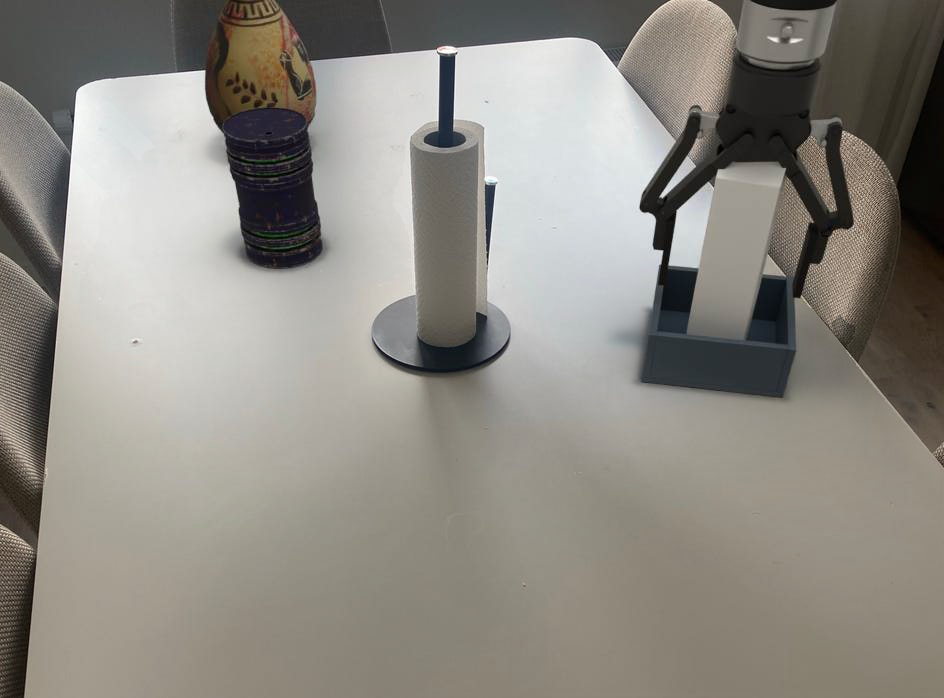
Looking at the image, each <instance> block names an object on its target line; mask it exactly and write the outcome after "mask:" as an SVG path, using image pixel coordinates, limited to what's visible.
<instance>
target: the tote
mask: <svg viewBox="0 0 944 698" xmlns="http://www.w3.org/2000/svg"><path fill="white" fill-rule="evenodd" d="M660 268H661V264H659V265H658V270H657V276H656V284H655V289H654V294H653V295H654V296H653V301H652V303H653V304H652V308H651V315H650V322H649V328H648V334H647V335H648V336H647V341H646V349H645V355H644V361H643V368H642V375H641V383H649V384H659V385H667V386H677V387H684V388H695V389H704V390H712V391H721V392H731V393H740V394H749V395H759V396H767V397H776V398H783V397H784V394H785V391H786V390H785V389H786V387H787V384H788V380H789V377H790V374H791V370H792V367H793V363H794V359H795V357H796V353H797V329H796V327H797V326H796V301H795V299H796V298H793V290H792V284H793V280H794V276H789V275H788V276H785V275H777V274H765V273H763V275H762V279H761V283H760V287H759V291H758V296H757V300H756V304H755V308H754V312H753V316H752V320H751V324H750V328H749V332H748V336H747V339H746V340H737V339H727V338H718V337H708V336H698V335H689V334H686V333H687V327H688V322H689V317H690V311H691V306H692V301H693V296H694V290H695V285H696V280H697V275H698V269H699V267H691V266H679V265H668V272H667V278H666V284H665V286H664V285H658V281H659V274H660Z"/></svg>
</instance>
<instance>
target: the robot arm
mask: <svg viewBox="0 0 944 698" xmlns="http://www.w3.org/2000/svg"><path fill="white" fill-rule="evenodd" d="M837 2H838V0H743V1H742V7H741V12H740V14H741V15H740V18H739V23H738V24H739V25H738V30H737V35H736V40H735V47H736V48H737V50H738V52H736V54H735V55H734V56H733V58H732V63H731V68H730V73H729V79H728V84H727V90H726V93H725V94H726V95H725V100H724V105H723V107H722V109H721V110H720V112H719V113H715V112H710V111H705V110H703V109H702V107H701V105H699V104H693V105H691V106H690V107H689V109H688V113H687V115H686V119H685V124H684V127H683V130H682V131H681V133H680V135H679V136H678V138H677V139H676V141H675V142H674V144H673V146H672V147H671V148H670V150H669V151H668V153H667V155H666V157H665V158H664V159H663V160H662V163H661V164H660V165H659V167H658V168H657V170H656V171H655V173H654V174H653V175H652V178H651V179H650V180H649V182H648V184H647V185H646V187H644V189H643V191H642V193H641V196H640V201H639V205H638V206H639V211H640V212H641V213H644V214H650V215H652V216H653V217H654V219H655V224H654V232H653V239H652V248H653V249H652V250H653V251H654V250H655V251H662V255H661V262H660V265H661V268H660V274H659V281H658V285H664V286H665V284H666V278H667V272H668V265H669V264H670V259H671V252H672V245H673V241H674V234H675V229H676V228H675V226H676V222H677V221H676V220H677V213H678V210H679V209H680V208H682V207H683V205H684V204H686V203H687V202H688V201H689V200H690V199H692V197H694V196H695V195H696V194H697V193H699V191H700V190H701V189H702V188H703V187H704V186H705V185H707V184H708V183H709V182H710V181H711V180H712V179H713V178H714V177H716V175H717V172H718V169H725V168H726V167H727V166H728V165H730V164H731V163H732V162H779V163H780V165H781V167H782V168H786V170H785V174H786V176H787V177H786V178H787V179H788V180H789V181H790V183H791V184H792V186H793V189H795V192H796V193H797V195H798V197H799V199H800V200H801V202H802V204H803V206H804V207H805V209H806V211H807V212H808V214H809V216H810V218H811V219H812V221H813V222H811V221H809V222H808V225H807V229H806V231H805V236H804V240H803V244H802V247H801V250H800V255H799V257H798V261H797V266H796V269H795V273H794V276H793V277H794V280H793V284H792V290H793V298H795V299H801V297H802V295H803V291H804V287H805V283H806V279H807V276H808V273H809V269H810V265H811V264H812V265H820V264H821V262H822V261H823V259H824V255H825V253H826V249H827V246H828V241H829V240H830V237H831V236H832V235H833V233H834V231H838V230H841V229H842V230H845V231H847V230H850V229H852V227H853V226H854V223H855V220H854V211H853V210H854V209H853V206H852V202H851V196H850V191H849V187H848V182H847V178H846V172H845V167H844V162H843V158H842V157H843V156H842V152H841V143H842V137H843V132H844V131H843V122H842V117H841V115H840V114H838V113H834V114H831V115H830V116H829V117H828V118H827V119H811V110H812V106H813V102H814V97H815V94H816V89H817V86H818V82H819V78H820V74H821V69H822V62H821V60H820V57H821V56H823V55H824V53H826V49H827V44H828V40H829V35H830V31H831V27H832V23H833V19H834V15H835V10H836V6H837ZM710 130H715V133H716V135H717V137H718V140H719V142H718V143H717V144H716V145H715V146H714V147H713V149H711V151H710V153H708V155H707V156H706V157H704V159H703V160H701V161H700V162H699V163H698V164H697V165H696V166H695V167H694V168H693V169H692V170H691V171H690V172H689V173H687V174H686V175H685V176H684V177H683V178H682V179H681V180H680V181H679V182H677V184H676V185H675V186H674V187H673V188H671V189H670V191H668V192H667V193H666V194H665V195H664V196H663V197H662V195H663V192H664V191H665V189H666V188H667V186H668V185H669V184H670V182H671V181H672V180H673V178H674V176H675V175H676V173H677V171H678V170H679V169H680V167H681V166H682V164H683V163H684V161H685V160H686V158H687V157H688V155H689V154H690V152H691V151H692V149H693V147H694V146H695V143H696V141H697V139H698V140H701V139H703V138H704V137H706V135H707V133H708V132H709V131H710ZM809 137H814V138H815V140H816V145H817V146H818V147H819V148H824V152H825V161H826V166H827V170H828V174H829V179H830V184H831V188H832V193H833V197H834V202H835V207H836V210H833V211H830V209H829V208H828V206H827V204H826V202H825V201H824V199H823V197H822V195H821V193H820V191H819V189H818V188H817V186H816V184H815V182H814V181H813V179H812V177H811V175H810V173H809V171H808V170H807V168H806V167H805V166H806V165H805V164H804V163H803V160H802V158H801V155H800V153H799V151H798V149H799V148H801V146H802V145H803V144H804V143H805V142H806V141H807V140H808V139H809Z"/></svg>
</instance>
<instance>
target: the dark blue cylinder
mask: <svg viewBox="0 0 944 698" xmlns="http://www.w3.org/2000/svg"><path fill="white" fill-rule="evenodd" d="M308 129H309V127H308V125H307V119H306V117H305V116H304V115H303V114H301V113H299V112H297V111H295V110H291V109H286V108H278V107H264V108H255V109H250V110H245V111H242V112H239V113H236V114H234V115H232V116H230V117H229V118H228V119H226V120H225V122H224V123H223V133H224V134H223V133H222V134H223V137H224V143H225V153H226V157H227V163H228V164H229V173H230V175H231V178H232V180H233V182H234V185H235V190H236V196H237V201H238V209H237V211H238V218H239V226H240V227H239V228H240V232H241V236H242V238H243V243H244V245H245V255H246V257H247V258H248V260H249V261H250V262H252V263H253V264H255V265H257V266H260V267H264V268H269V269H278V270H279V269H291V268H296V267H301V266H303V265H306V264H309V263H311V262H313V261H314V260H316V259H317V258H318V257H319V256H320V255H321V254H322V252H323V247H324V246H323V241H322V238H321V237H322V232H321V231H322V223H321V217H320V214H319V206H318V205H319V204H318V203H317V200H316V198H315V189H314V182H313V175H312V174H313V173H314V169H313V168H314V162H313V158H312V157H313V156H312V155H313V151H312V144H311V142H310V135H309V134H310V133H309V130H308Z"/></svg>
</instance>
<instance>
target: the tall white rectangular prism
mask: <svg viewBox="0 0 944 698" xmlns="http://www.w3.org/2000/svg"><path fill="white" fill-rule="evenodd" d="M785 170H786V168H782V167H781V165H780V163H779V162H732V163H731V164H730V165H728V166H727V167H726V168H725V169H718V172H717V174H716V175H715V180H714V186H713V190H712V196H711V202H710V206H709V212H708V217H707V222H706V227H705V231H704V232H705V233H704V238H703V244H702V248H701V255H700V259H699V264H698V268H699V269H698V275H697V280H696V285H695V290H694V296H693V301H692V306H691V311H690V317H689V322H688V327H687V333H686V334H689V335H698V336H708V337H718V338H727V339H737V340H746V339H747V336H748V332H749V328H750V324H751V320H752V316H753V312H754V308H755V304H756V300H757V296H758V291H759V287H760V283H761V279H762V275H763V274H764V271H765V266H766V263H767V258H768V254H769V251H770V246H771V243H772V239H773V238H772V237H773V235H774V229H775V226H776V221H777V218H778V213H779V210H780V206H781V201H782V197H783V194H784V189H785V184H786V182H787V178H788V177H787V176H786V174H785Z"/></svg>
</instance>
